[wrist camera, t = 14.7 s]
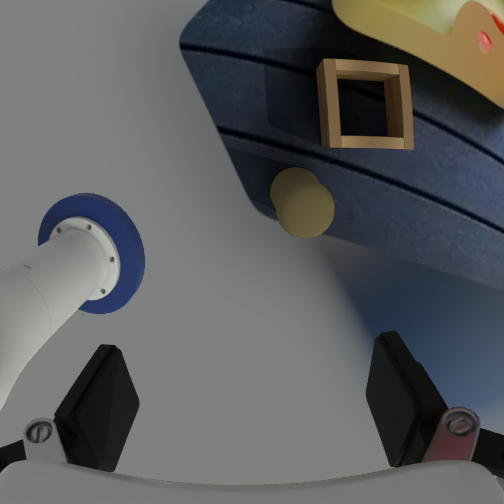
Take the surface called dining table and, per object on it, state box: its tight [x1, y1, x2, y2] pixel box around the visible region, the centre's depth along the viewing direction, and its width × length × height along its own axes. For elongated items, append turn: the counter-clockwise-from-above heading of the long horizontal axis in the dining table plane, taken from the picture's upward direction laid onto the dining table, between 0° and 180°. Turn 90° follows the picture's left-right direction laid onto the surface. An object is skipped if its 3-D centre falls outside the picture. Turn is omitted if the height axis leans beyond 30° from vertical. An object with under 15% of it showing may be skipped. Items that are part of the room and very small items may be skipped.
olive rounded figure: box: [270, 167, 334, 238], centre depth 31 cm, size 6×6×11 cm
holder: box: [316, 59, 414, 149], centre depth 30 cm, size 9×9×5 cm
